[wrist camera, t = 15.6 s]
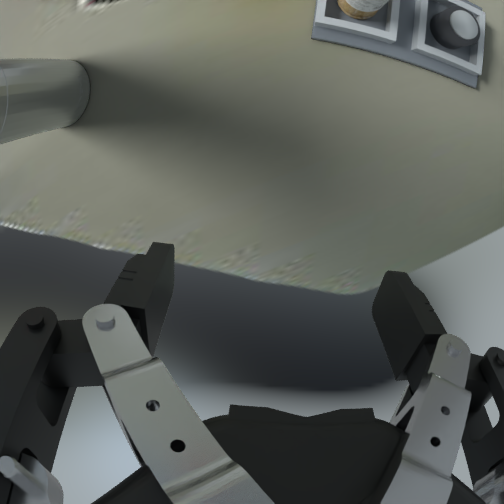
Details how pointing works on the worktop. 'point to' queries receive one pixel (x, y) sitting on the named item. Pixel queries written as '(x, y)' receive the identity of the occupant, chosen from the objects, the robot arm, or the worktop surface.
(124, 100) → the worktop surface
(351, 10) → the sprinkles bottle
